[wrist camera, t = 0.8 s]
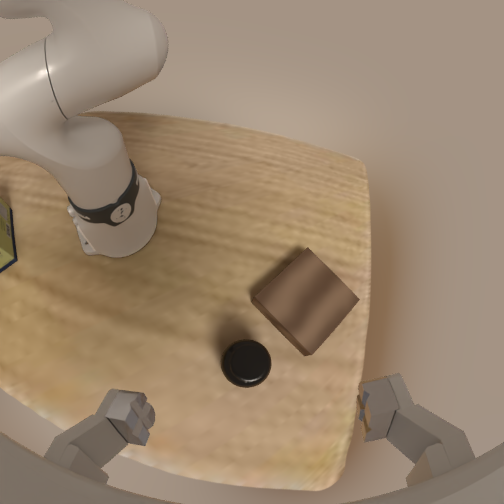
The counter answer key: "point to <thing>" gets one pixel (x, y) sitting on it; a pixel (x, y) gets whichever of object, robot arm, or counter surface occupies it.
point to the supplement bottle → (246, 363)
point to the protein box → (6, 237)
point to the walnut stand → (306, 302)
